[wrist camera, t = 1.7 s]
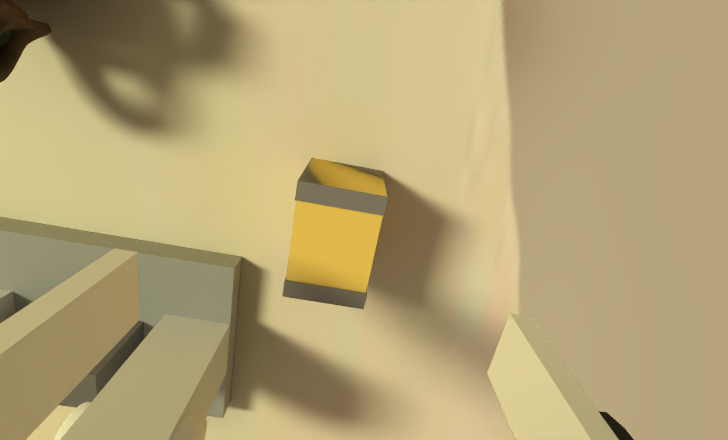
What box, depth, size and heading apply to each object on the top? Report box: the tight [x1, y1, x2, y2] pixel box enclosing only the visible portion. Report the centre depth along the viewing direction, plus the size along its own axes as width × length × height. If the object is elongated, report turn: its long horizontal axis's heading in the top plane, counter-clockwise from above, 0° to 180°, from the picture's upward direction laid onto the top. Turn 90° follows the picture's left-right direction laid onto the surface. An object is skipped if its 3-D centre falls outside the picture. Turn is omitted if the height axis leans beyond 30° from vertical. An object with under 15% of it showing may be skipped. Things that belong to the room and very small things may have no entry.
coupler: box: [283, 158, 388, 309], centre depth 20 cm, size 4×6×5 cm
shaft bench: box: [0, 217, 242, 440], centre depth 20 cm, size 12×18×10 cm, turn 79°
